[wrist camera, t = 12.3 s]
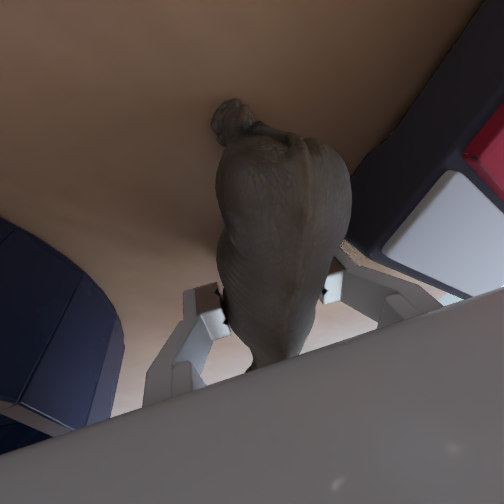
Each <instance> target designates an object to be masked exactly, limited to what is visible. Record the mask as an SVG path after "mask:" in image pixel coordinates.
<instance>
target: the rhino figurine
mask: <svg viewBox="0 0 504 504" xmlns="http://www.w3.org/2000/svg"><path fill="white" fill-rule="evenodd" d="M211 127H212V130H213V131H214V132H215V134H216V135H217V140H218V142H219V144H220V145H222V146H223V147H226V149H225V150H224V152H223V155H222V157H221V160H220V162H219V166H218V169H217V174H216V184H215V189H216V195H217V200H218V204H219V208H220V211H221V215H222V218H223V220H224V223H225V227H224V229H223V232H222V234H221V236H220V239H219V242H218V246H217V253H216V261H217V268H218V272H219V275H220V278H221V281H222V283H223V286H224V289H223V299H222V302H223V307H224V311H225V315H226V317H227V320H228V323H229V325H230V327H231V328H232V330H233V331H234V333H235V334H236V335H237V336H238V337H239V338H240V339H241V340H242V341H243V342H244V343H245V344H246V345H247V346H248V347H249V348H250V350H251V353H252V355H253V362H252V365H251V366H250V367H249V368H248V369H247V370H246V372H245V373H247V372H250V371H253V370H256V369H259V368H262V367H265V366H268V365H271V364H274V363H277V362H280V361H283V360H286V359H289V358H292V357H295V356H298V355H299V354H300V352H301V349H302V347H303V345H304V342H305V340H306V338H307V336H308V335H309V332H310V330H311V328H312V326H313V323H314V319H315V307H316V304H317V301H318V299H319V297H320V294H321V292H322V289H323V287H324V285H325V282H326V279H327V276H328V273H329V269H330V265H331V261H332V258H333V256H334V255H335V253H336V251H337V250H338V248H339V246H340V245H341V243H342V241H343V239H344V238H345V236H346V233H347V230H348V226H349V222H350V218H351V207H352V191H351V183H350V177H349V173H348V169H347V166H346V164H345V163H344V161H343V159H342V158H341V157H340V155H339V154H338V153H337V152H335V151H334V150H332V149H331V148H329V147H328V146H327V145H326V144H325V143H323V142H322V141H319V140H317V139H315V138H303V139H302V138H301V137H300V136H299V135H297V134H294V133H291V132H284V131H279V130H275V129H272V128H270V127H268V126H267V125H265V124H264V123H262V122H261V121H258V122H254V123H253V117H252V112H251V109H250V107H249V106H247V105H246V104H243V103H242V102H241V101H240V100H238V99H231V100H228V101H225V102H224V103H223V104H222V105H221V106H220V107H219V108H218V109H217V110H216V112H215V113H214V115H213V118H212V120H211Z"/></svg>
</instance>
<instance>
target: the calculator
mask: <svg viewBox="0 0 504 504" xmlns="http://www.w3.org/2000/svg"><path fill="white" fill-rule="evenodd" d="M350 183H351V191H352V207H351V218H350V222H349V226H348V230H347V233H346V236H345V238H344V239H345V240H347V241H348V242H349V243H350V244H351V245H353V246H354V247H355V248H356V249H358V250H359V251H360V252H361V253H362V254H364V255H365V256H366V257H367V258H369V259H371V260H373V261H375V262H377V263H380V264H382V265H384V266H387V267H389V268H391V269H394V270H396V271H398V272H401V273H403V274H405V275H408V276H410V277H412V278H415V279H417V280H420V281H422V282H424V283H427V284H429V285H431V286H434V287H436V288H438V289H441V290H443V291H445V292H448V293H450V294H452V295H455V296H457V297H460V298H462V299H464V300H465V299H468V298H471V297H474V296H477V295H480V294H483V293H486V292H489V291H492V290H495V289H498V288H501V287H502V286H503V285H504V0H485V1H484V3H483V4H482V6H481V7H480V8H479V10H478V11H477V13H476V14H475V16H474V17H473V19H472V20H471V21H470V23H469V24H468V26H467V27H466V29H465V30H464V32H463V33H462V34H461V36H460V37H459V39H458V40H457V42H456V43H455V45H454V46H453V47H452V49H451V50H450V52H449V53H448V55H447V56H446V58H445V59H444V60H443V62H442V63H441V65H440V66H439V68H438V69H437V70H436V72H435V73H434V75H433V76H432V78H431V79H430V81H429V82H428V83H427V85H426V86H425V88H424V89H423V91H422V92H421V94H420V95H419V96H418V98H417V99H416V101H415V102H414V104H413V105H412V107H411V108H410V109H409V111H408V112H407V114H406V115H405V117H404V118H403V119H402V121H401V122H400V124H399V125H398V127H397V128H396V129H395V131H394V132H393V134H392V135H391V136H390V137H389V138H388V139H387V140H385V141H384V142H383V143H382V144H380V145H379V146H378V147H377V148H375V149H374V150H373V151H371V152H370V153H369V154H368V155H367V156H366V158H365V159H364V161H363V162H362V163H361V165H360V166H359V168H358V169H357V171H356V172H355V174H354V175H353V177H352V178H351V180H350Z"/></svg>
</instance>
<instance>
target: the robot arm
mask: <svg viewBox="0 0 504 504" xmlns="http://www.w3.org/2000/svg"><path fill="white" fill-rule="evenodd" d="M222 299H223V296H222V294H221V292H220V287H219V285H218V282H214V283H211V284H207V285H203V286H199V287H196V288H193V289H189V290H185V291H184V293H183V320H182V321H180V322H179V323H178V325H177V326H176V328H175V330H174V331H173V333H172V334H171V336H170V337H169V339H168V340H167V342H166V343H165V345H164V346H163V348H162V349H161V351H160V352H159V354H158V355H157V357H156V358H155V360H154V362H153V363H152V365H151V366H150V368H149V369H148V371H147V373H146V381H145V389H144V397H143V405H142V408H139V409H136V410H133V411H130V412H127V413H124V414H121V415H118V416H115V417H112V418H109V419H106V420H103V421H100V422H97V423H94V424H91V425H88V426H85V427H82V428H79V429H76V430H73V431H70V432H67V433H64V434H61V435H58V436H55V437H52V438H49V439H46V440H43V441H40V442H38V443H35V444H32V445H29V446H26V447H23V448H20V449H17V450H14V451H11V452H8V453H5V454H2V455H0V504H504V287H501V288H498V289H495V290H492V291H489V292H486V293H483V294H480V295H477V296H474V297H471V298H468V299H465V300H462V301H459V302H456V303H453V304H450V305H447V306H443V305H442V304H440V303H439V302H438V301H437V300H436V299H435V298H433V297H432V296H431V295H430V294H429V293H428V292H426V291H425V290H424V289H423V288H422V287H420V286H419V285H417V284H414V283H411V282H408V281H405V280H402V279H399V278H396V277H393V276H390V275H387V274H385V273H382V272H379V271H376V270H373V269H370V268H367V267H364V266H358V265H357V264H356V263H355V262H354V261H353V260H352V259H351V258H350V257H349V256H348V255H347V254H346V253H345V252H344V251H343V250H342V249H341V248H340V247H339V248H338V250H337V251H336V253H335V255H334V256H333V258H332V261H331V265H330V269H329V273H328V276H327V279H326V282H325V285H324V287H323V289H322V292H321V294H320V297H319V299H320V301H321V302H322V304H323V305H327V304H330V303H334V302H337V301H342V302H343V303H345V304H347V305H349V306H350V307H352V308H354V309H355V310H357V311H359V312H361V313H362V314H364V315H366V316H368V317H369V318H371V319H373V320H374V321H376V322H378V326H377V329H375V330H372V331H369V332H366V333H363V334H361V335H358V336H355V337H352V338H349V339H346V340H343V341H340V342H337V343H334V344H331V345H328V346H325V347H322V348H319V349H316V350H313V351H310V352H307V353H304V354H301V355H298V356H295V357H292V358H289V359H286V360H283V361H280V362H277V363H274V364H271V365H268V366H265V367H262V368H259V369H256V370H253V371H250V372H247V373H244V374H241V375H238V376H235V377H232V378H229V379H226V380H223V381H220V382H217V383H214V384H211V385H208V386H206V384H205V383H204V381H203V380H202V378H201V377H200V374H201V372H202V369H203V366H204V364H205V361H206V359H207V356H208V354H209V351H210V349H211V346H212V344H213V341H214V340H217V339H220V338H223V337H226V336H229V335H231V330H230V325H229V323H228V320H227V317H226V315H225V311H224V307H223V302H222Z"/></svg>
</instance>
